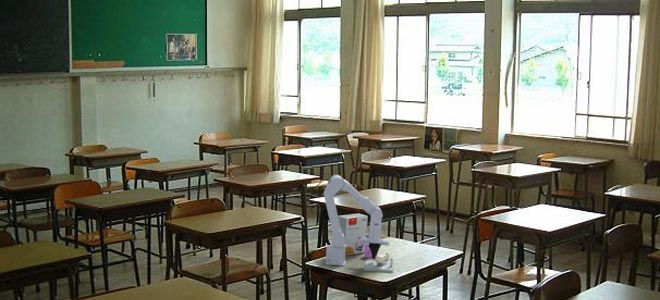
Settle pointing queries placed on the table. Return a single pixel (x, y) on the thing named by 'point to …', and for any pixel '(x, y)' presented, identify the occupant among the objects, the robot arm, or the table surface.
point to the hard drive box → (354, 232)
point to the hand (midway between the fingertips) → (374, 258)
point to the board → (379, 266)
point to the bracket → (369, 252)
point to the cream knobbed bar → (381, 258)
